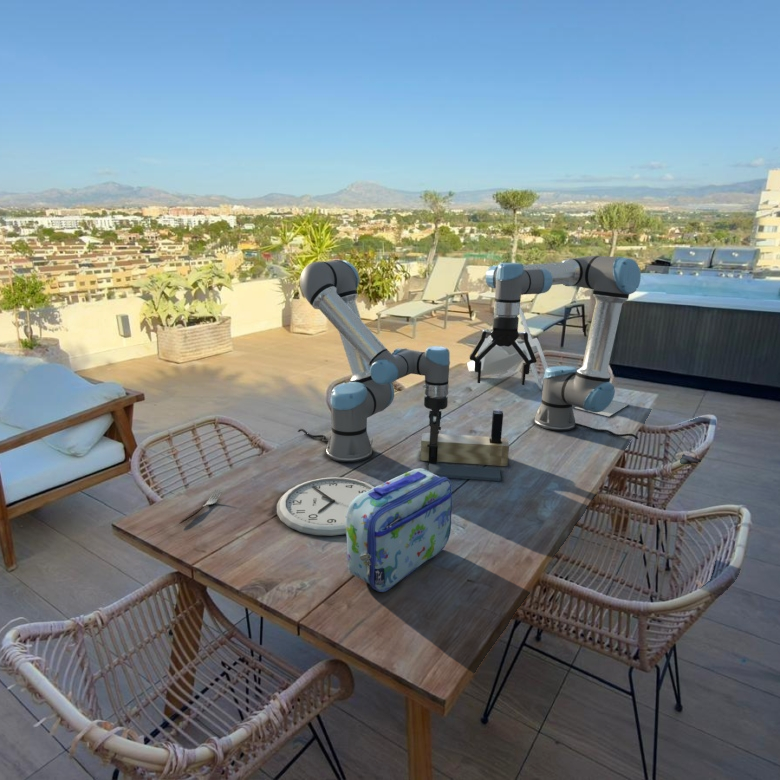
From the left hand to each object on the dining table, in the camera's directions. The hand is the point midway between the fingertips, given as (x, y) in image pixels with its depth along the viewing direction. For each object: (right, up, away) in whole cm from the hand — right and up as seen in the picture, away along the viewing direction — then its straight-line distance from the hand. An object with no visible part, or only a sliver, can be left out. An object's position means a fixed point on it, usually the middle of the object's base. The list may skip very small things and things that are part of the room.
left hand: (433, 456), depth 174 cm
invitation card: (+77, +15, +52) cm, 94 cm away
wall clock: (-30, -9, -31) cm, 45 cm away
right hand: (+20, +24, -10) cm, 33 cm away
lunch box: (-12, -18, -56) cm, 60 cm away
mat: (+9, -4, -11) cm, 15 cm away
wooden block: (+10, -1, -1) cm, 10 cm away
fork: (-65, -10, -35) cm, 74 cm away
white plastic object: (+43, +25, +84) cm, 97 cm away
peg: (+20, -1, -2) cm, 20 cm away
